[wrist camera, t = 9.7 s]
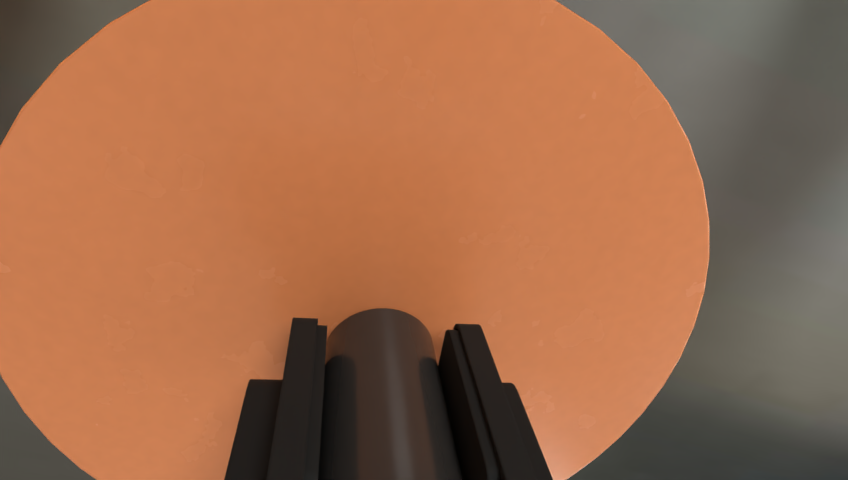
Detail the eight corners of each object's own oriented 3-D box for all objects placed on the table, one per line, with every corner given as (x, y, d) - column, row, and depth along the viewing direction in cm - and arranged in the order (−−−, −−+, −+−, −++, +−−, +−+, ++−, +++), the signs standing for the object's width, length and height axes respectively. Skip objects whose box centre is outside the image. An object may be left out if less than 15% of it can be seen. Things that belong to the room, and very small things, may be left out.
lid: (459, -303, 7) (765, -1055, 2) (756, 333, 15) (983, 536, 10) (-163, 298, 11) (-697, 642, 5) (343, 568, 18) (341, 818, 13)
